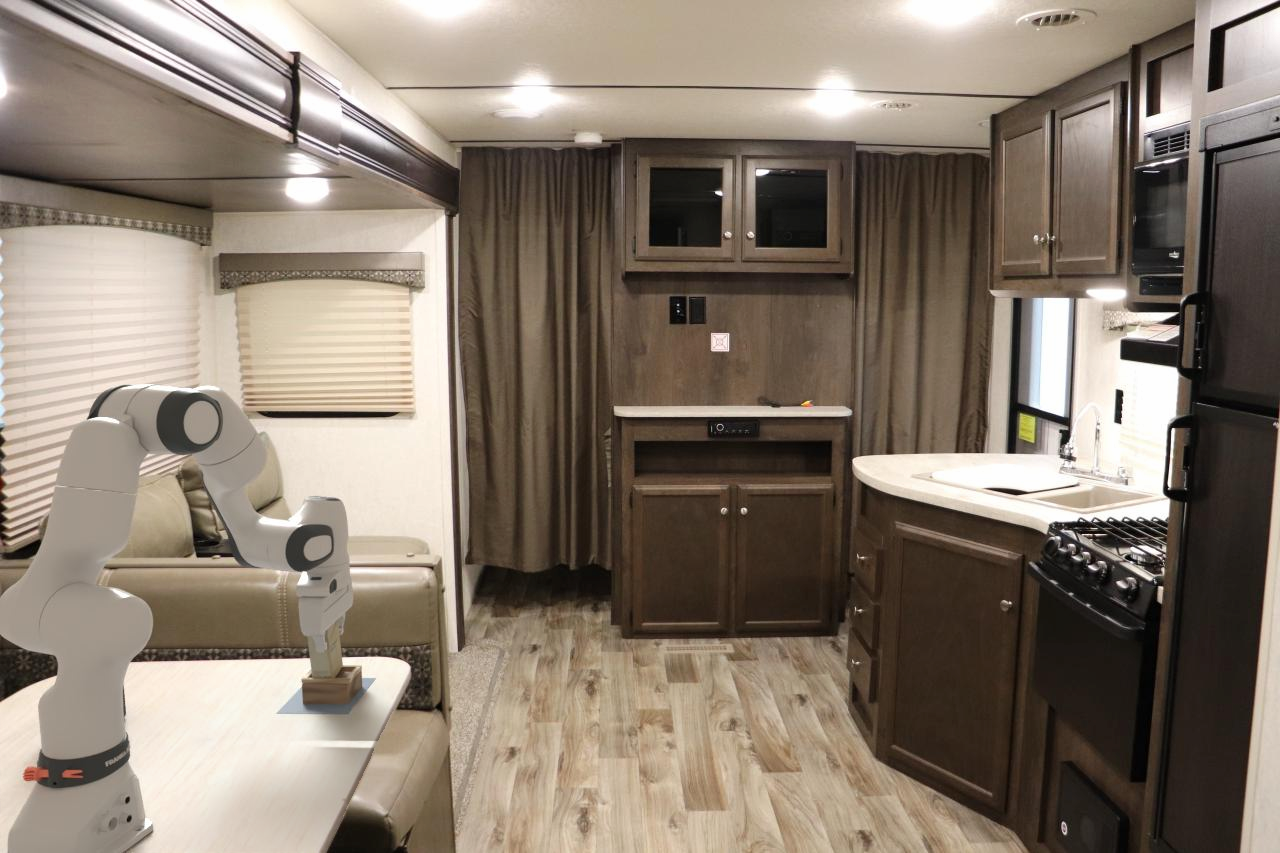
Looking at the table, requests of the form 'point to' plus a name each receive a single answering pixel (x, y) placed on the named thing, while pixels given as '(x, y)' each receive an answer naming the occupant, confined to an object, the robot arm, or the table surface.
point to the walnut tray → (332, 686)
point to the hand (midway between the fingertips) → (330, 643)
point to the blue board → (298, 707)
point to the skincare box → (326, 654)
